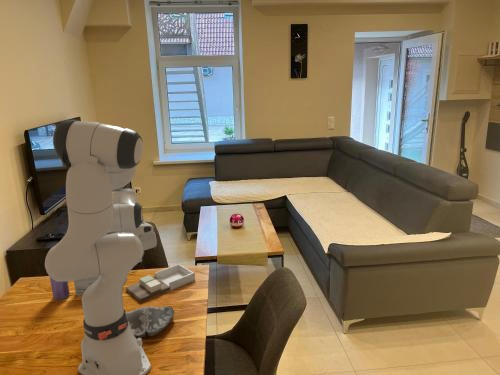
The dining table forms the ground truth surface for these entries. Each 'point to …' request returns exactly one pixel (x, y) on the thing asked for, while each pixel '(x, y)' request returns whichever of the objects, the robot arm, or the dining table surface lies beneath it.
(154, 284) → the cream tile
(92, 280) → the supplement box
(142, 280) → the sage tile
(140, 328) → the brain slice
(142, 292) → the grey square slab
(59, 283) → the beverage can
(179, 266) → the grey tray
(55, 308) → the dining table surface
